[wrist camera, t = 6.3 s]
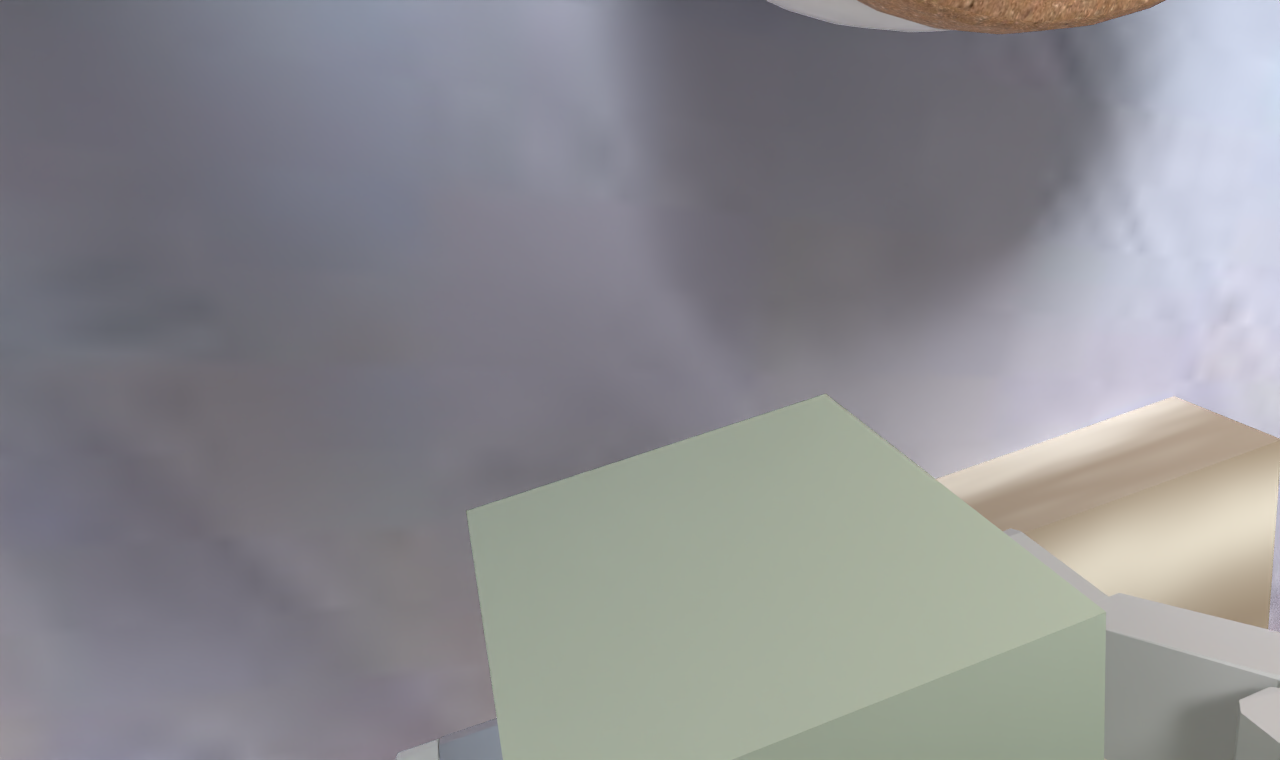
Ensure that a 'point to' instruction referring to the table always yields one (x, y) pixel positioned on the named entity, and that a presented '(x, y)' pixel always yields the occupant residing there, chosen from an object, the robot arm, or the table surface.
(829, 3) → the lidded bowl
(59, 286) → the table surface
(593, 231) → the table surface
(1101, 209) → the table surface
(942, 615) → the sage cube
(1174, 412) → the ash block
